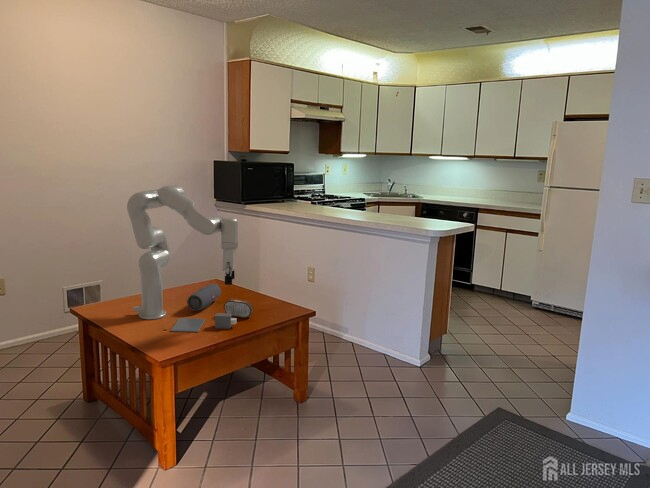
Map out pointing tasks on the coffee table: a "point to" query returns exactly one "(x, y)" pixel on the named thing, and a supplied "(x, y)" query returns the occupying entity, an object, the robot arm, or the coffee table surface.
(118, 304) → the coffee table surface
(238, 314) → the tin
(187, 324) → the slate board
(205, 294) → the bluetooth speaker
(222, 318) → the block
